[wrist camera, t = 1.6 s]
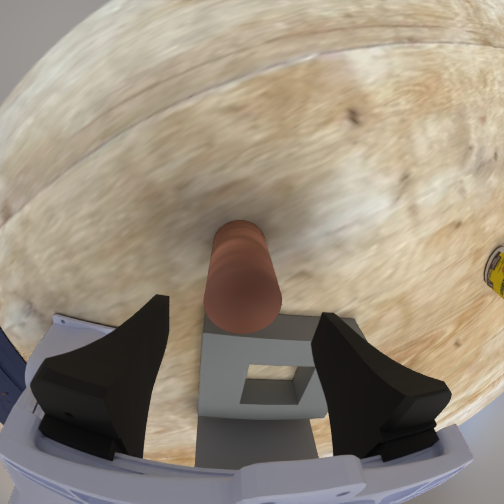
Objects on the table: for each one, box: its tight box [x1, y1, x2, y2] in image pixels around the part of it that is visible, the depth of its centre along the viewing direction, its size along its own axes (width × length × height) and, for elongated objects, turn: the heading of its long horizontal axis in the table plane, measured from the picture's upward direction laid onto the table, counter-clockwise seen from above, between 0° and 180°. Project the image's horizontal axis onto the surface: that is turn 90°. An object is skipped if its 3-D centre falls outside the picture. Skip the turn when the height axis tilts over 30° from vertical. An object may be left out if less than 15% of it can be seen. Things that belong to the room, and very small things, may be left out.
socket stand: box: [194, 314, 367, 470], centre depth 22 cm, size 14×17×11 cm
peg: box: [204, 220, 282, 334], centre depth 18 cm, size 4×4×8 cm
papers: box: [0, 329, 27, 425], centre depth 28 cm, size 24×30×4 cm
